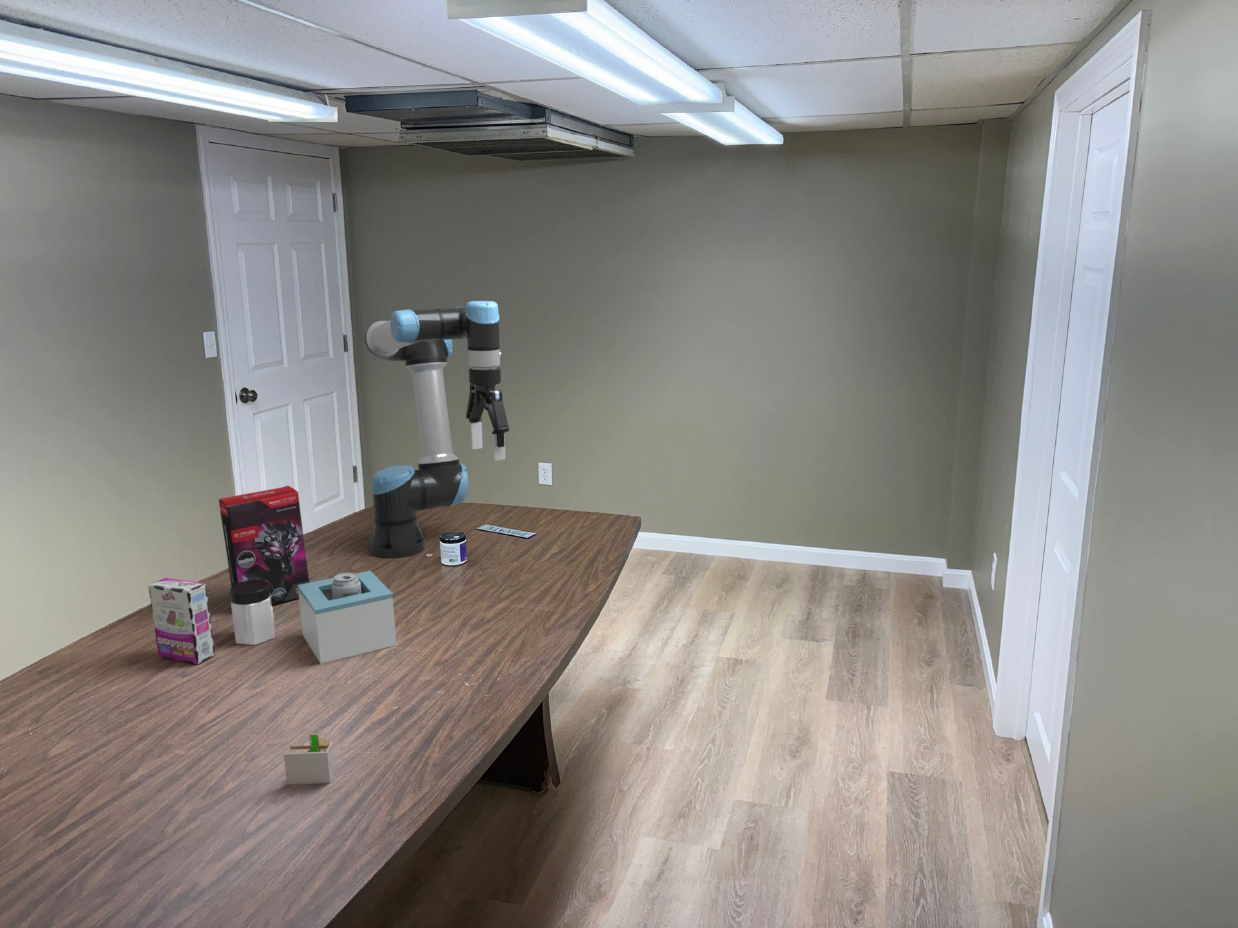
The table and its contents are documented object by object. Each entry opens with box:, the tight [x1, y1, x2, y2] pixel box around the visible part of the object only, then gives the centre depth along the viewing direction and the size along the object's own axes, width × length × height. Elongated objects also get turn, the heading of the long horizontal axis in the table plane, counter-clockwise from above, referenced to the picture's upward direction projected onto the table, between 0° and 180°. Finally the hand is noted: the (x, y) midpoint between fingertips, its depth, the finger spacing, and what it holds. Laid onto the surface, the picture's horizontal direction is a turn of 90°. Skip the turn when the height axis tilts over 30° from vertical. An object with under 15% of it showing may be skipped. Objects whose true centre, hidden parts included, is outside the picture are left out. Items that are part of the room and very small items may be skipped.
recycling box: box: [298, 570, 397, 665], centre depth 190 cm, size 16×16×12 cm
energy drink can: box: [331, 572, 361, 600], centre depth 189 cm, size 6×6×15 cm
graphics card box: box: [218, 485, 310, 606], centre depth 209 cm, size 17×7×27 cm, turn 131°
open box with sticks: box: [283, 733, 335, 785], centre depth 141 cm, size 4×7×8 cm, turn 93°
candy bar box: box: [147, 577, 216, 665], centre depth 182 cm, size 11×5×16 cm, turn 70°
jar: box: [229, 580, 276, 646], centre depth 192 cm, size 9×8×12 cm
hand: (488, 454), depth 213 cm, fingers open, 13 cm apart
